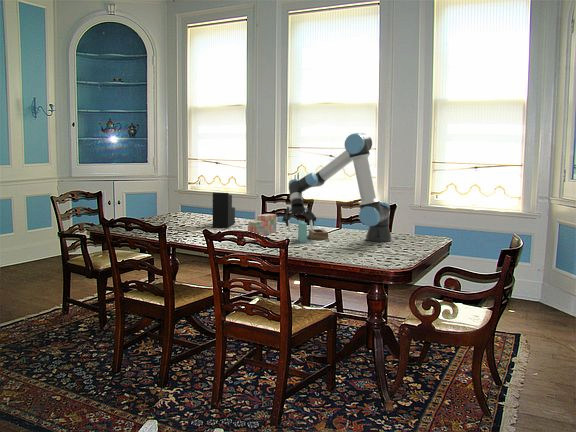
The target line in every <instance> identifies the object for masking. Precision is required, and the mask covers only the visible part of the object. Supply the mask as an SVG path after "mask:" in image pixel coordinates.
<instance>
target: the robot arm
mask: <svg viewBox="0 0 576 432" xmlns="http://www.w3.org/2000/svg"><path fill="white" fill-rule="evenodd" d="M372 146H373V140H372V138H371V136H370V135H369V134H367V133H360V132H355V133H354V132H353V133H351V134H350V135H347V137H346V139H345V141H344V149H345V150H344V151H343V152H341V153H340V154H339V155H338V156H336V158H334V159H332V161H330V162H329V163H328V164H326V165H325V166H323V167H322V168H321V169H319V171H317V172H316V173H314V172H310V173H308V174H306V175H305V176H303V177H302V178H294V179H290V180H289V182H288V191H289V199H290V207H289V206H287V207H286V210H285V213H284V215H283V217H282V220H281V221H282V222H284V223H285V225H286V226H285V227H287V230H288V232H291V224H290V223H291V222H290V219H291V218H293V216H297V215H299V216H303V217H304V218H306V219H307V220H308V221H309V224H310V229H311V231H313V229H314V226H315V222H316V221H317V217H316V216H315V214H314V212H313V211H312V210H311V208H310V206H307V207H305V206H304V199H303V192H305V191H306V190H309V189H310V188H316V187H321V186H323V185H324V184H325V183H326V181H328V180H329V179H330V178H332V177H333V176H334V175H336V174H337V173H338V172H339V171H341V170H342V169H343V168H345V167H346V166H347V165H349V164H350V163H352V162H353V166H354V172H355V176H356V182H357V186H358V192H359V196H360V201H361V202H360V203H359V204H358V205H359V210H360V211H359V213H358V218H359V221H360V222H361V224H363V225H364V226H366V227H368V230H367V233H366V236H365V240H366V241H368V242H377V243H387V242H391V241H392V234H391V232H390V228H389V226H390V209H391V208H390V203H389V202H383V201H380V200H379V199H378V198H377V195H376V192H375V187H374V181H373V177H372V172H371V168H370V162H369V157H370V150H371V149H372ZM289 212H291V213H290V214H289ZM288 214H289V215H288Z"/></svg>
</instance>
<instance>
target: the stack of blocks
mask: <svg viewBox="0 0 576 432" xmlns="http://www.w3.org/2000/svg"><path fill="white" fill-rule="evenodd" d="M248 231H250V232H254V233H257V234H260V235H263V236H262V237H265V236H268V235H267V234H270V235H272V234H271V233H275V234H277V214H275V213H264V214H258V215H257V216H256V220H251V221H248V222H247V232H248ZM264 235H265V236H264Z"/></svg>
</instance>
